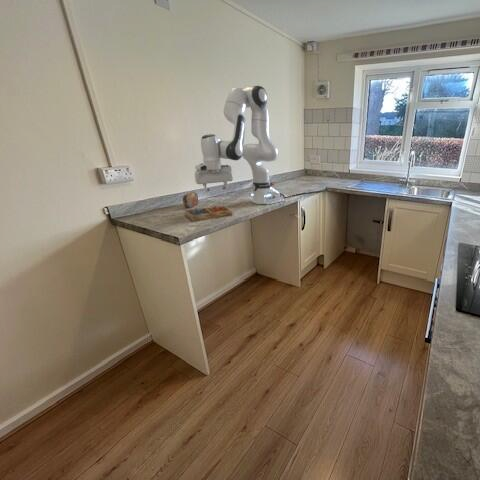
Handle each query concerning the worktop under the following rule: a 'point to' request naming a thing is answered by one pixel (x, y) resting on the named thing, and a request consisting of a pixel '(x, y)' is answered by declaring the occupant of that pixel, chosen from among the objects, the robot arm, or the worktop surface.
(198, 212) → the blue spoon
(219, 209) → the terracotta spoon
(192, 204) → the tin
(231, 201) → the worktop surface
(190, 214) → the cutlery tray
